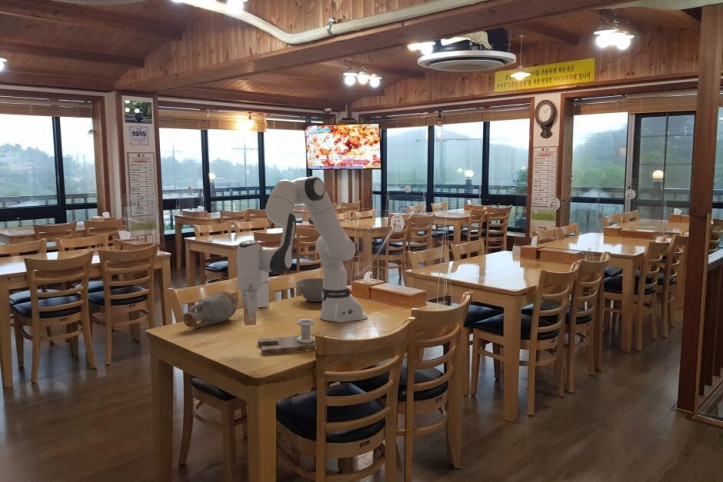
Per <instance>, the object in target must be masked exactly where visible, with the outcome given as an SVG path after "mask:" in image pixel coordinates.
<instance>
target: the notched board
mask: <svg viewBox="0 0 723 482" xmlns="http://www.w3.org/2000/svg"><path fill="white" fill-rule="evenodd" d="M315 335H316V334H310V336H313V337H314V336H315ZM299 336H300V335H292V336H281V337H279V336H278V337H268V338H266V337H265V338H258V339H257V345H258V348H260V350H261V351H260V352H261V354H262V355H263V356H265V355H279V354H290V353H289V352H292V353H298V352H297V351H304V352H307V351H306V350H315V341H314V342H312V343H299V342H297V337H299Z"/></svg>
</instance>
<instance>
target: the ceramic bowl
mask: <svg viewBox="0 0 723 482" xmlns="http://www.w3.org/2000/svg"><path fill="white" fill-rule="evenodd" d="M295 285H296V286H297V288H298V289H299V291H300V293H301V295H302V297H303V298H304V299H305V300H307V301H308V302H315V303H319V302H320V303H321V302H322V288H323V278H318V277H315V278H314V277H313V278H303V279H301V280H297V281H296V282H295Z"/></svg>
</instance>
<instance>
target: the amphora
mask: <svg viewBox="0 0 723 482" xmlns="http://www.w3.org/2000/svg"><path fill="white" fill-rule="evenodd" d="M238 301H239V299H238V298H236V297H234V295H232V293H229V291H223V290H220V291H217V292H215V293H212V294H210V295H208V296H205V297H204V298H202V299H200V300H199V301H198V303H196V304H194V305H191V306H190V307H189V309H188V311H187V312H185V313H184V314H183V315H182V321H183V324H184V325H185V326H186V327H187V328H194V329H197V328H202V327H204V326H212V325H215V324H218V323H222V322H224V321H227V320H229V319H230V318H232V317H233V316H234V315H235V314H236V311H237V308H238ZM195 310H196V311H195Z"/></svg>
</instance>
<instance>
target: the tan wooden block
mask: <svg viewBox="0 0 723 482" xmlns="http://www.w3.org/2000/svg"><path fill="white" fill-rule="evenodd" d="M243 320H244V321H243V322H244V326H255V325H257V312H254V316H253V320H252V321H249V319H248V311H247V309H246V307H243Z"/></svg>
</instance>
